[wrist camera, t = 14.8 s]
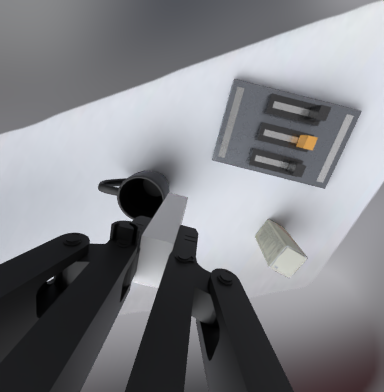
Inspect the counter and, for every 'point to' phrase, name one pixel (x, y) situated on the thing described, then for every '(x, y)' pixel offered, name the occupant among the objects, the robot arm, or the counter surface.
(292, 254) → the box
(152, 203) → the mug
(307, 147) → the breaker handle
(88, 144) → the counter surface
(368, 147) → the counter surface
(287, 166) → the panel
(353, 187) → the counter surface
